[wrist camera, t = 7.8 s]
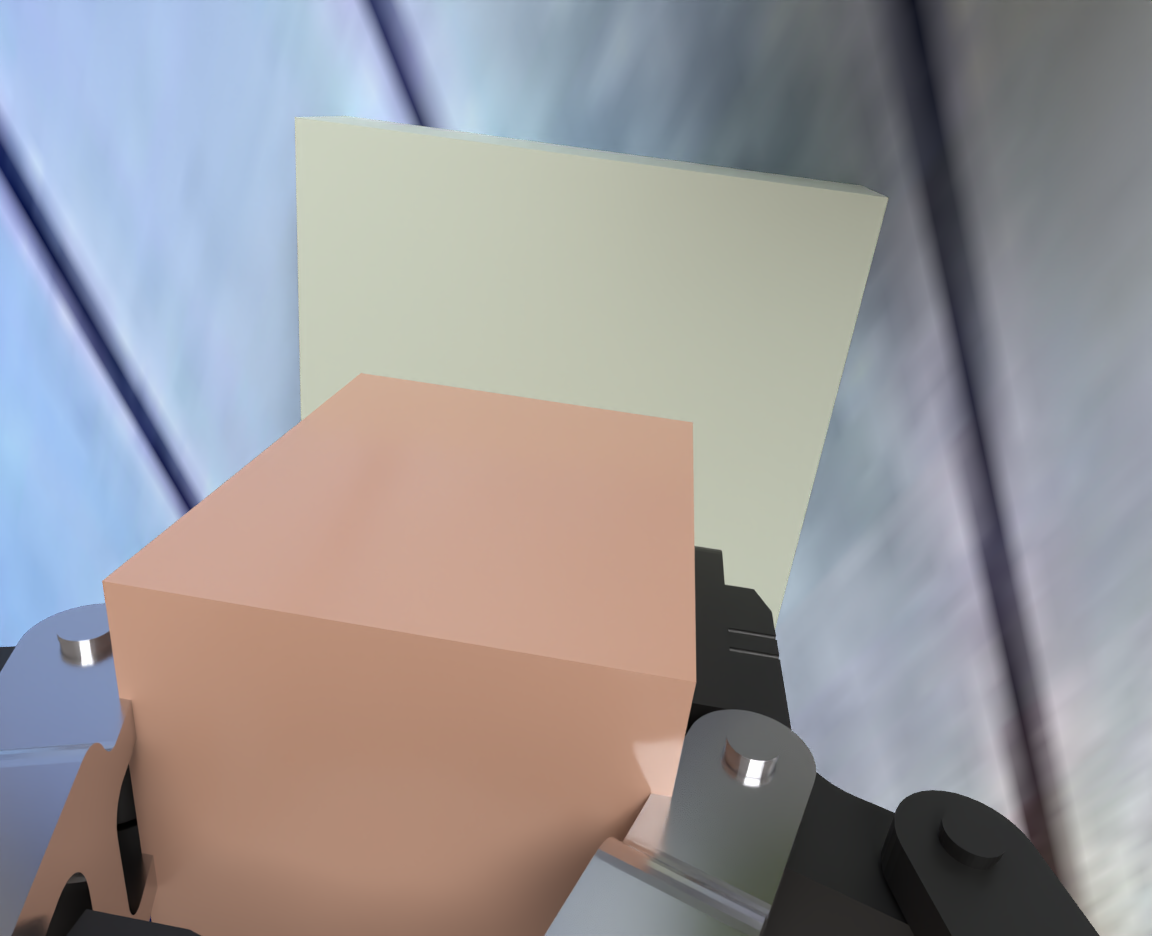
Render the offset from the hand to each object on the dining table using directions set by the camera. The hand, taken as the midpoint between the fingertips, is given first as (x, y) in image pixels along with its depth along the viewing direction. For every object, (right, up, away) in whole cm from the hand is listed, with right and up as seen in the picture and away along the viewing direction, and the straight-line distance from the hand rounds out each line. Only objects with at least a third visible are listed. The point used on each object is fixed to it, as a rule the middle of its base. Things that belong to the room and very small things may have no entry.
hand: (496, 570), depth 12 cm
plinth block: (+1, +3, +8) cm, 9 cm away
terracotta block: (0, 0, +1) cm, 1 cm away
